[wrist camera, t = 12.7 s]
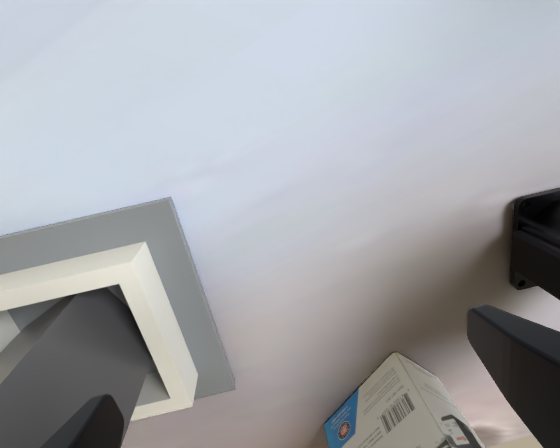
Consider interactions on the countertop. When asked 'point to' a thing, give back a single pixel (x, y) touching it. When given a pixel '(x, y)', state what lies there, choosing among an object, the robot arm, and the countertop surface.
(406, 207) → the countertop surface
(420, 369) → the ink box
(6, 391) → the plug
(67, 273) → the socket board
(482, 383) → the countertop surface
